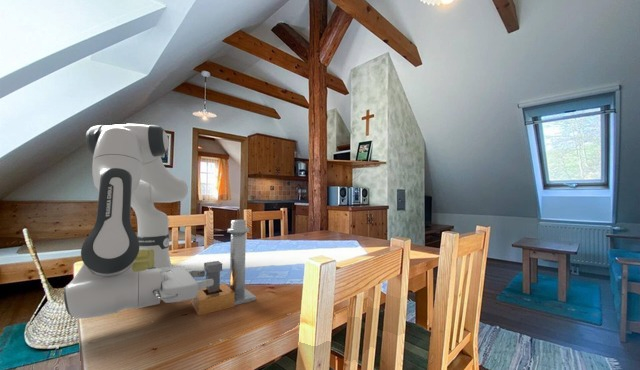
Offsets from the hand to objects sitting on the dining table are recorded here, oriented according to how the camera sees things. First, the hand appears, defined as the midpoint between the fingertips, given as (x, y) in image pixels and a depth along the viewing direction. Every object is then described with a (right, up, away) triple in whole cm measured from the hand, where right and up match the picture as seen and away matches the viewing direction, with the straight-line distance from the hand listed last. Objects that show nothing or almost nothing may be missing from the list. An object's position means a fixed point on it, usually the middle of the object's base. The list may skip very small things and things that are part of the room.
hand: (208, 276), depth 76 cm
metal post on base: (+4, -8, +3) cm, 10 cm away
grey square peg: (+1, -8, +1) cm, 8 cm away
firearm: (-24, -9, +10) cm, 28 cm away
